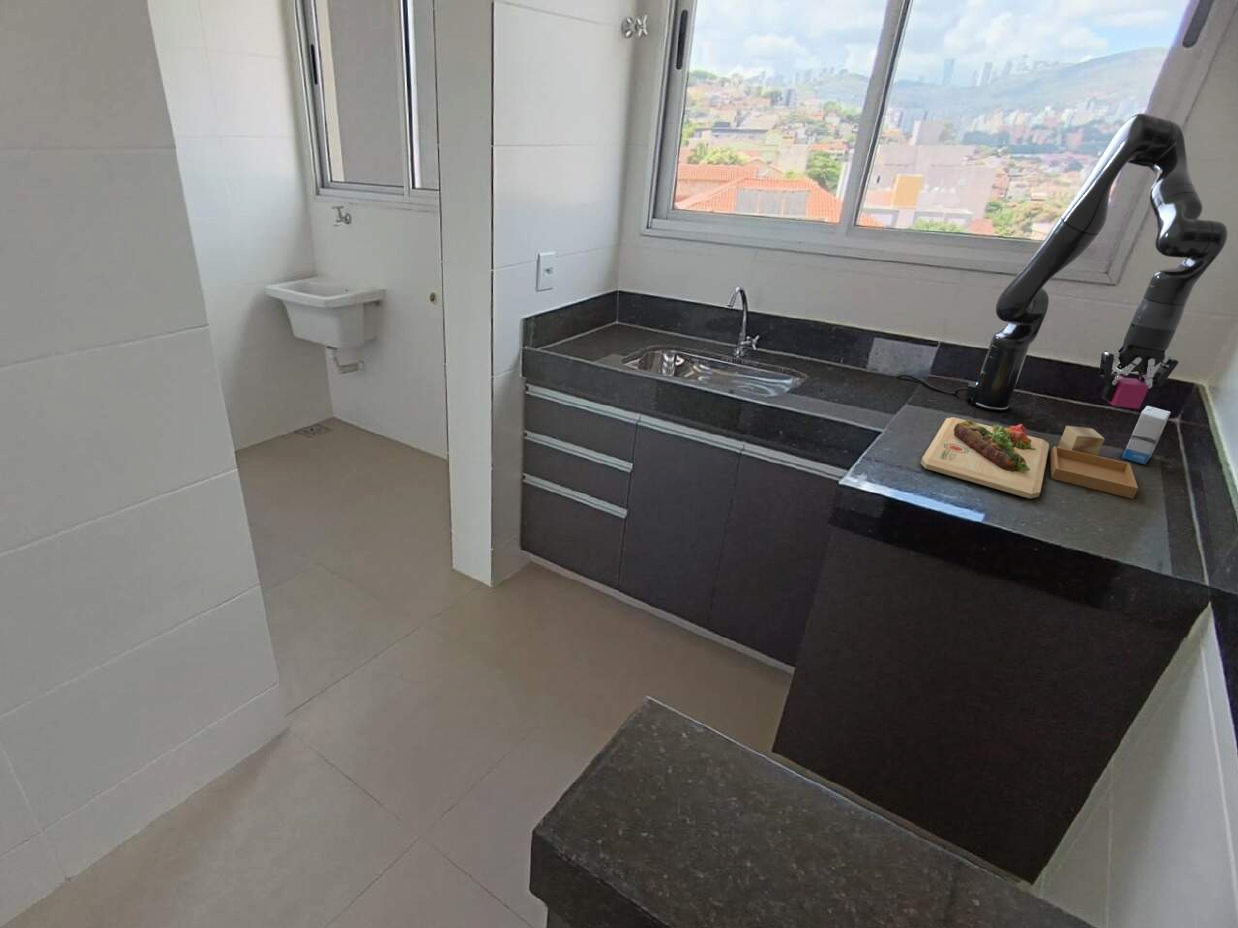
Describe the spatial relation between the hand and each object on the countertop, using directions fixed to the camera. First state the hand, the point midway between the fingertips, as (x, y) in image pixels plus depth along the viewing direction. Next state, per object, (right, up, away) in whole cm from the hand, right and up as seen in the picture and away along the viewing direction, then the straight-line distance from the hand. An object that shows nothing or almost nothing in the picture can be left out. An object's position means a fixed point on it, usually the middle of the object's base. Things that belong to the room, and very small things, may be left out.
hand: (1120, 401), depth 141 cm
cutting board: (-22, -12, +13) cm, 28 cm away
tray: (-2, -16, +7) cm, 18 cm away
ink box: (+18, -12, +19) cm, 28 cm away
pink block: (0, 0, 0) cm, 0 cm away
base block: (+3, -11, +18) cm, 21 cm away
